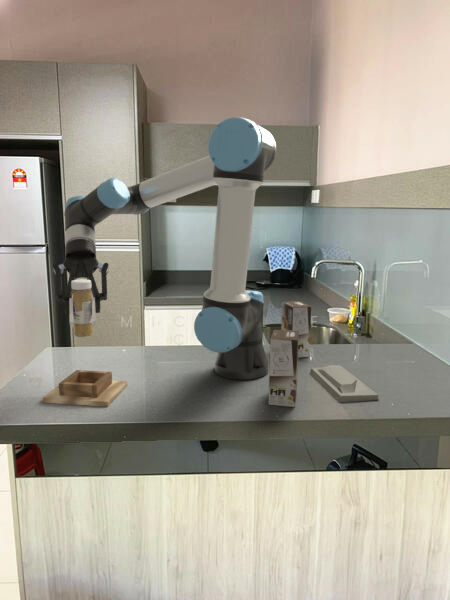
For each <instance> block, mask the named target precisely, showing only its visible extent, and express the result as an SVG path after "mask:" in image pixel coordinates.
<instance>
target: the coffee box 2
mask: <svg viewBox="0 0 450 600" xmlns="http://www.w3.org/2000/svg"><path fill="white" fill-rule="evenodd" d="M269 340H270V341H269V342H270V344H269V369H268V373H269V376H268V378H269V379H268V405H270V406H278V407H279V406H280V407H289V408H294V407H295V406H296V400H297V394H298V373H299V372H298V371H299V358H298V348H299V331H296V330H281V329H273V330H272V334H271V336H270V339H269Z"/></svg>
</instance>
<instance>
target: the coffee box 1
mask: <svg viewBox="0 0 450 600" xmlns="http://www.w3.org/2000/svg"><path fill="white" fill-rule="evenodd" d="M311 316H312V306H311V305H309V304H307V303H304V302H302V301H300V300H293V301H292V300H291V301H290V300H289V301H282V302H281V324H280V325H281V326H280V327H281V328H280V330H296V331H299V348H298V359H300V358H309V357H310V349H311V348H310V347H311V346H310V344H311V323H312V322H311V320H312V319H311V318H312V317H311Z"/></svg>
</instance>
